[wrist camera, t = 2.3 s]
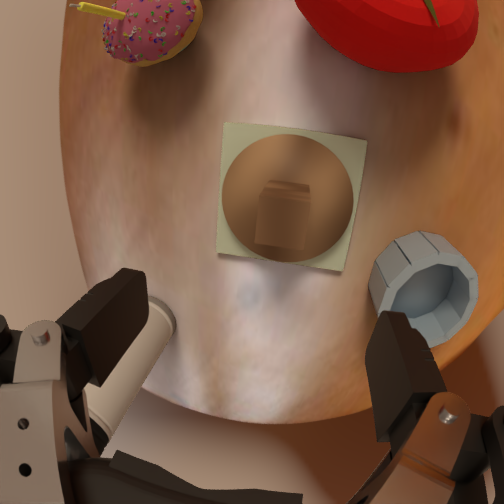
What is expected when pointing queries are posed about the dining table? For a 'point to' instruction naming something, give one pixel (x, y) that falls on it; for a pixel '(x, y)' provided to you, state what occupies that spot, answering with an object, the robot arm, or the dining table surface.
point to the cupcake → (147, 28)
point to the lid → (287, 198)
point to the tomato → (396, 31)
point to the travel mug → (128, 374)
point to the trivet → (341, 146)
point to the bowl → (425, 285)
